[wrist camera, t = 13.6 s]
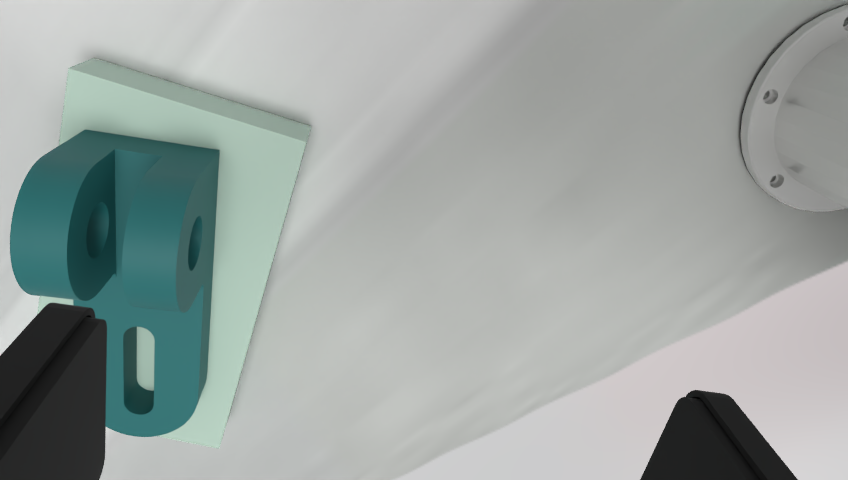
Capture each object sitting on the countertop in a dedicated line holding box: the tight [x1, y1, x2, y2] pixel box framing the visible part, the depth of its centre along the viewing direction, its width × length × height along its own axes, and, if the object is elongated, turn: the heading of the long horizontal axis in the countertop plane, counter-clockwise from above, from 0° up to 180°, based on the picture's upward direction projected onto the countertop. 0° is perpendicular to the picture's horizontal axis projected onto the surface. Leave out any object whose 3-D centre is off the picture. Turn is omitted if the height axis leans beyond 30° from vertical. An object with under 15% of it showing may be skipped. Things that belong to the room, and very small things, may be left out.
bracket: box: [10, 129, 220, 437], centre depth 33 cm, size 18×7×8 cm, turn 169°
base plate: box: [37, 58, 311, 449], centre depth 38 cm, size 12×22×4 cm, turn 160°
